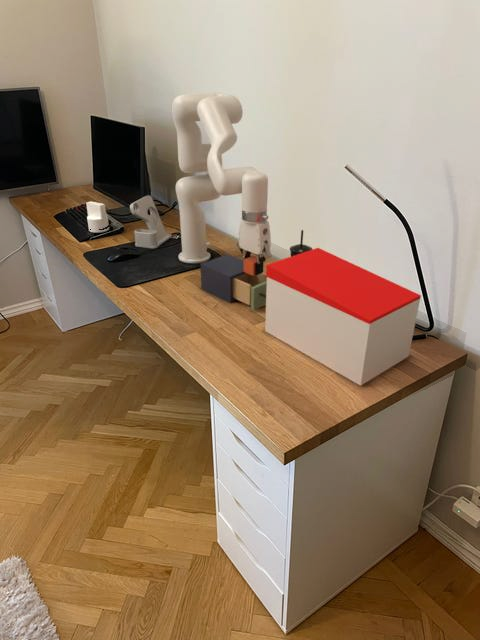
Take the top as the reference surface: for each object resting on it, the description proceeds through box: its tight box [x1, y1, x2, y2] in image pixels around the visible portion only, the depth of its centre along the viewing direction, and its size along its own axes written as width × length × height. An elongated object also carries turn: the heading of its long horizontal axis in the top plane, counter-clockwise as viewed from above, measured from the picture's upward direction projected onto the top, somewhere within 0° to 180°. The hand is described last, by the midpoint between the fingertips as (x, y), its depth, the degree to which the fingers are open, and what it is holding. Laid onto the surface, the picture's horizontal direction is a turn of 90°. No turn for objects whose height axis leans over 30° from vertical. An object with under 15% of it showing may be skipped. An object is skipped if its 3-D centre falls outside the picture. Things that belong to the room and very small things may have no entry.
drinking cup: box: [289, 229, 314, 257], centre depth 166 cm, size 8×8×20 cm
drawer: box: [232, 272, 267, 311], centre depth 157 cm, size 19×12×7 cm, turn 44°
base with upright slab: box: [85, 201, 110, 234], centre depth 221 cm, size 9×9×12 cm
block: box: [243, 255, 257, 276], centre depth 154 cm, size 4×4×4 cm
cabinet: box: [200, 253, 245, 304], centre depth 165 cm, size 15×13×9 cm
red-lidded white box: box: [264, 247, 422, 387], centre depth 132 cm, size 21×35×21 cm, turn 40°
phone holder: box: [129, 194, 172, 249], centre depth 206 cm, size 17×10×18 cm, turn 162°
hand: (253, 270), depth 155 cm, fingers closed on block, 4 cm apart
